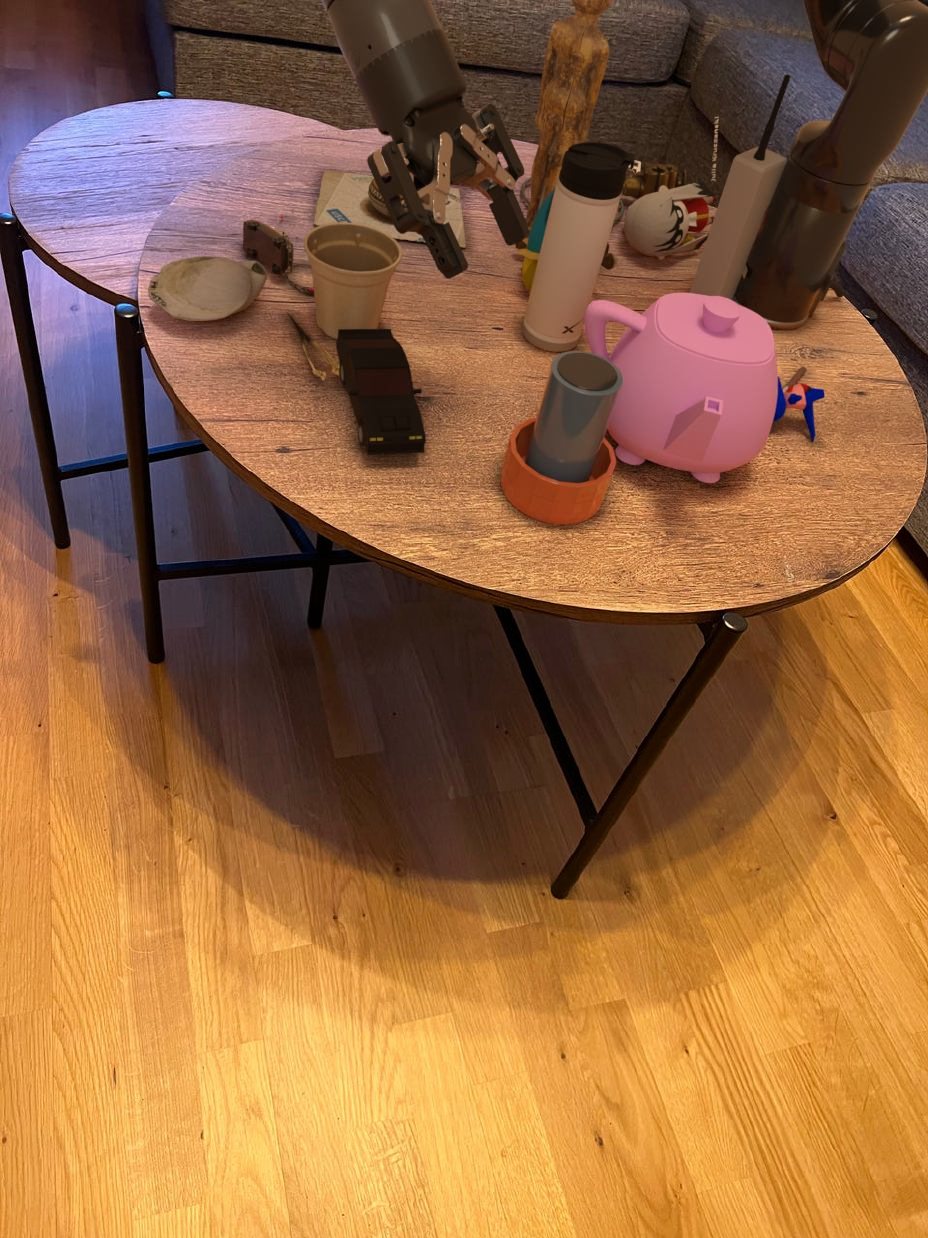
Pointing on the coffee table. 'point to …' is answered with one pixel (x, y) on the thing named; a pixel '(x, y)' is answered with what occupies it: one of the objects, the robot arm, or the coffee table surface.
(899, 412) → the coffee table surface
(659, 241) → the toy
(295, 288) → the necklace
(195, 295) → the seashell
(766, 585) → the coffee table surface
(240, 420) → the coffee table surface
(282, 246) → the toy car
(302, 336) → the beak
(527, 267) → the toy
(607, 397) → the grey metal cylinder
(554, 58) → the sculpture
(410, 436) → the toy car
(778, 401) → the figurine
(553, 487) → the orange round bowl
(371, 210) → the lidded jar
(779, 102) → the vintage mobile phone
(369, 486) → the coffee table surface
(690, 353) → the teapot
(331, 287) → the flower pot
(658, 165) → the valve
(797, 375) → the pen
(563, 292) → the travel mug
